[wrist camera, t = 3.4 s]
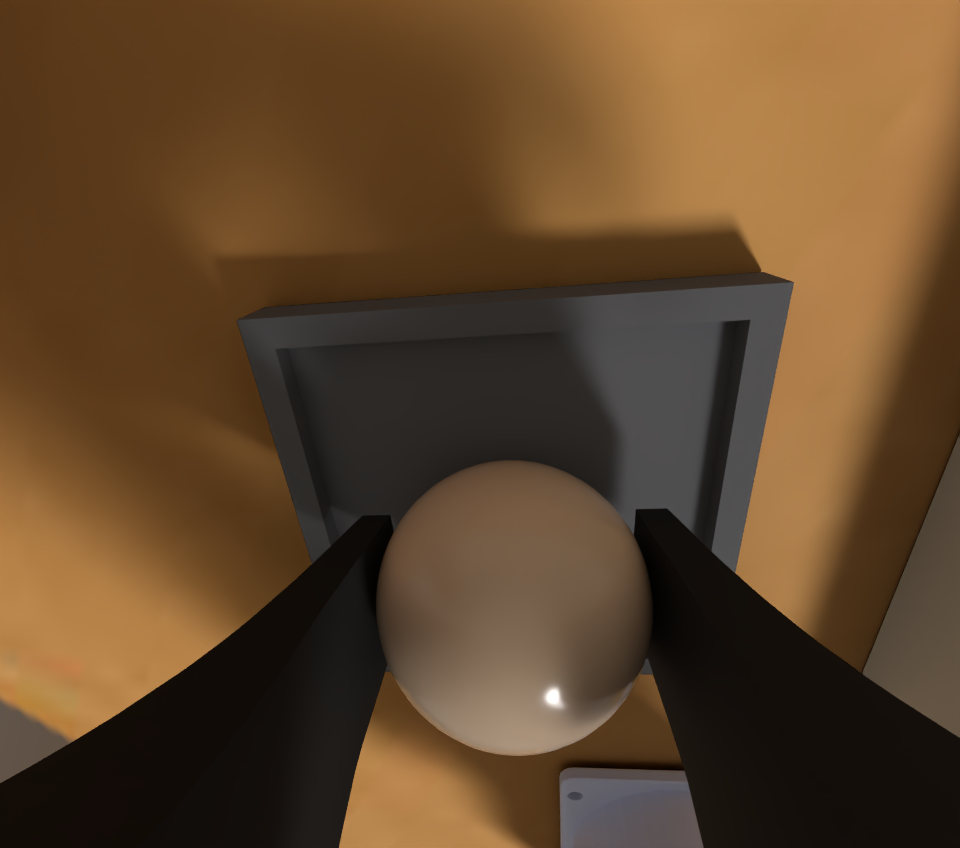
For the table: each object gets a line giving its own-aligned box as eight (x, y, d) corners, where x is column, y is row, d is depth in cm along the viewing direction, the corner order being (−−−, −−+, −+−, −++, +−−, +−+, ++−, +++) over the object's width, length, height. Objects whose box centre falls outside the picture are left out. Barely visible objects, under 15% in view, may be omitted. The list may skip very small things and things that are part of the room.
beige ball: (617, 590, 12) (675, 829, 7) (423, 591, 12) (370, 815, 8) (628, 411, 10) (719, 597, 5) (392, 421, 10) (295, 599, 6)
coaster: (700, 639, 13) (714, 674, 12) (357, 637, 14) (344, 670, 13) (763, 271, 9) (794, 281, 8) (263, 306, 10) (236, 319, 9)
